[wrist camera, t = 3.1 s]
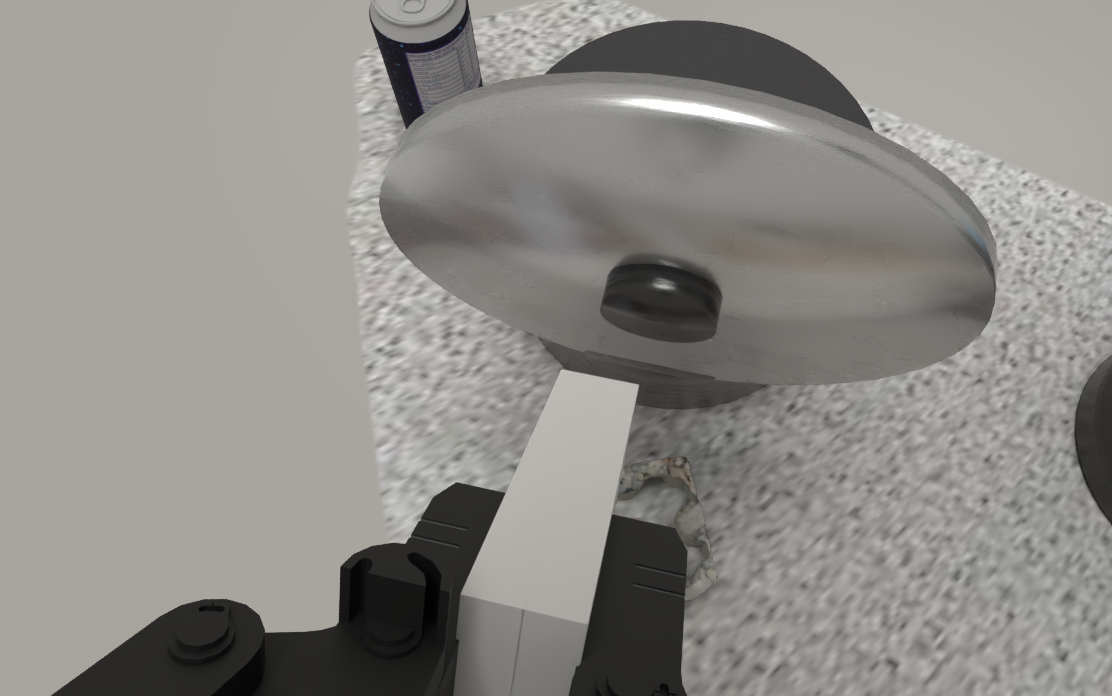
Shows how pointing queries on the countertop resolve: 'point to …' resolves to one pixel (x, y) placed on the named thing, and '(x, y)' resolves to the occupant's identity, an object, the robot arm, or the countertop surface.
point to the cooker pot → (715, 59)
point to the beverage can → (426, 51)
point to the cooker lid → (691, 229)
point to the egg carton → (687, 519)
